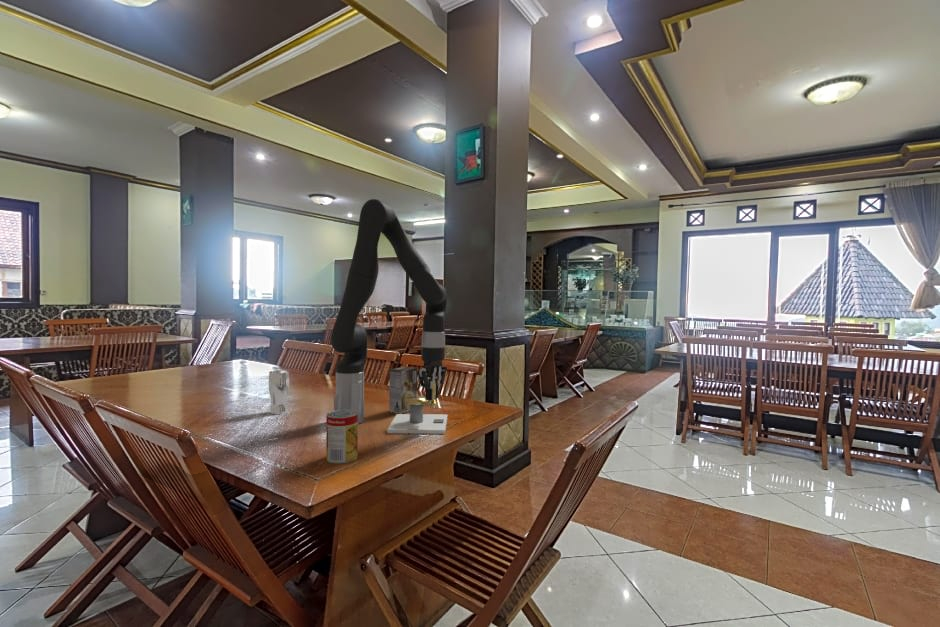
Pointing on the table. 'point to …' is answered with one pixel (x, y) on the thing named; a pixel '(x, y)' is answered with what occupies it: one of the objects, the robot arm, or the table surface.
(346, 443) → the canned food
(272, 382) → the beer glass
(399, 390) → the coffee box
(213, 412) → the table surface
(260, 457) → the table surface
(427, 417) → the base
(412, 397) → the coupling
